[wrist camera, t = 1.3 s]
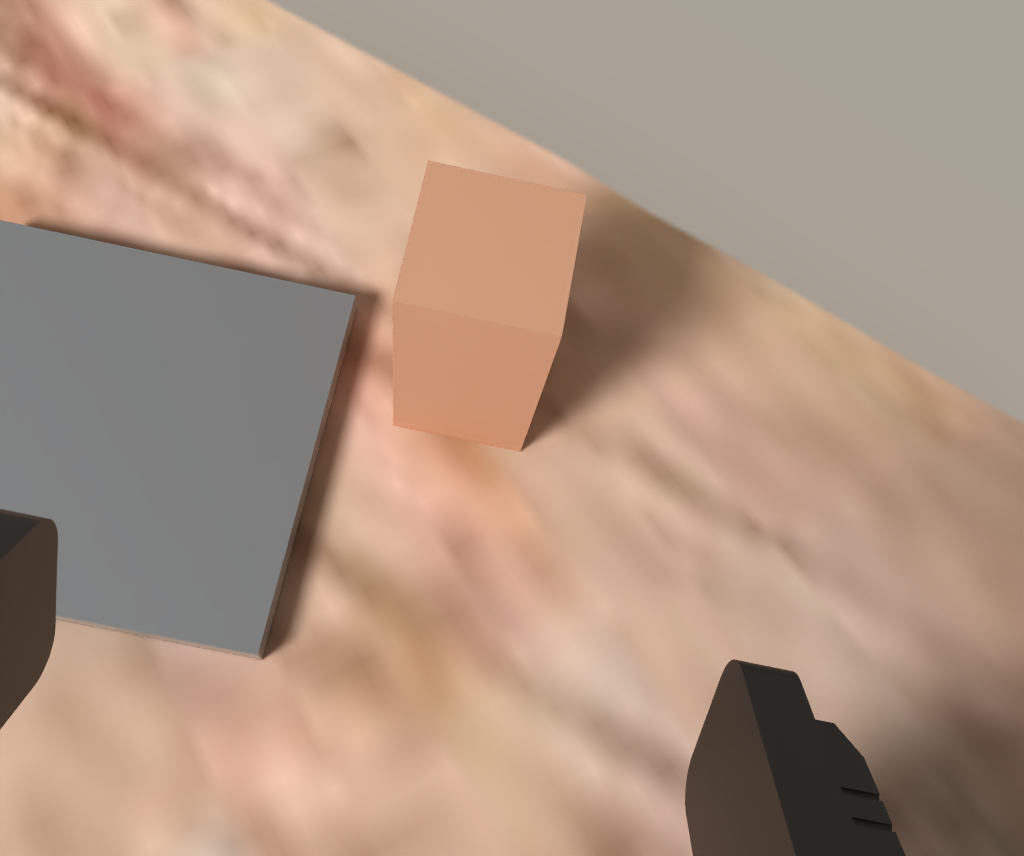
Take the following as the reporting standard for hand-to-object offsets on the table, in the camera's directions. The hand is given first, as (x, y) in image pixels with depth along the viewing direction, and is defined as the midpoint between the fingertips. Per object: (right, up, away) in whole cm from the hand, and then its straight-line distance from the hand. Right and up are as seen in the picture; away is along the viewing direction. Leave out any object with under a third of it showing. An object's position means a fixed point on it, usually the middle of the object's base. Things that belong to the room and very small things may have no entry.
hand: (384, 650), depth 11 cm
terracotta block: (0, +5, +27) cm, 27 cm away
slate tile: (-13, +2, +24) cm, 28 cm away
